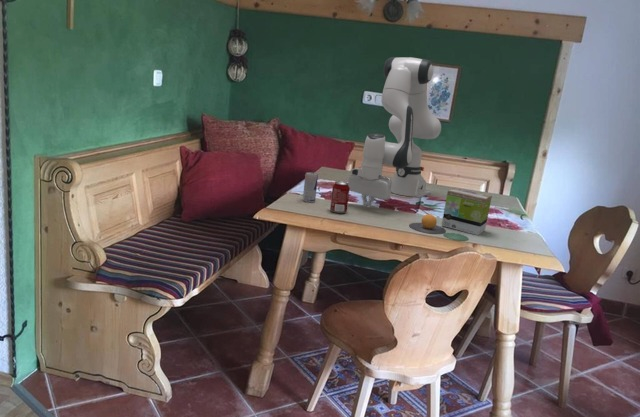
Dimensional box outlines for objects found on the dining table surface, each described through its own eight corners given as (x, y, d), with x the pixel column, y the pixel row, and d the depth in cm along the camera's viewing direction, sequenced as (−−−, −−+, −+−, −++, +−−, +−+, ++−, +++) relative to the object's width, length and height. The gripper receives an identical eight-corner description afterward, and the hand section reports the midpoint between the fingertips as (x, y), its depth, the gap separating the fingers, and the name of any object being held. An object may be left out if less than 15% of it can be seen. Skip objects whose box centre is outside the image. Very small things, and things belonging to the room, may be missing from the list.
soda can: (345, 215, 206) (348, 185, 203) (328, 212, 207) (331, 183, 204) (347, 211, 212) (351, 182, 209) (331, 208, 213) (334, 180, 210)
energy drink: (316, 201, 224) (319, 173, 221) (312, 203, 219) (315, 175, 216) (305, 198, 226) (308, 171, 223) (300, 201, 221) (303, 173, 218)
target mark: (421, 221, 209) (421, 220, 209) (452, 230, 200) (452, 230, 200) (402, 226, 198) (402, 225, 198) (434, 236, 190) (434, 235, 190)
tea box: (440, 226, 204) (446, 190, 201) (448, 222, 213) (454, 187, 209) (478, 236, 197) (485, 198, 193) (485, 231, 205) (492, 194, 202)
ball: (432, 231, 201) (423, 221, 203) (441, 221, 198) (432, 210, 200) (425, 232, 196) (416, 222, 199) (435, 222, 194) (425, 211, 196)
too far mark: (450, 231, 198) (450, 231, 198) (472, 238, 192) (472, 237, 192) (439, 235, 191) (439, 235, 191) (461, 242, 186) (461, 241, 186)
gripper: (396, 177, 211) (391, 210, 214) (356, 168, 224) (352, 199, 227) (387, 178, 206) (382, 212, 210) (347, 169, 219) (343, 200, 222)
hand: (366, 205), depth 218 cm, fingers closed
